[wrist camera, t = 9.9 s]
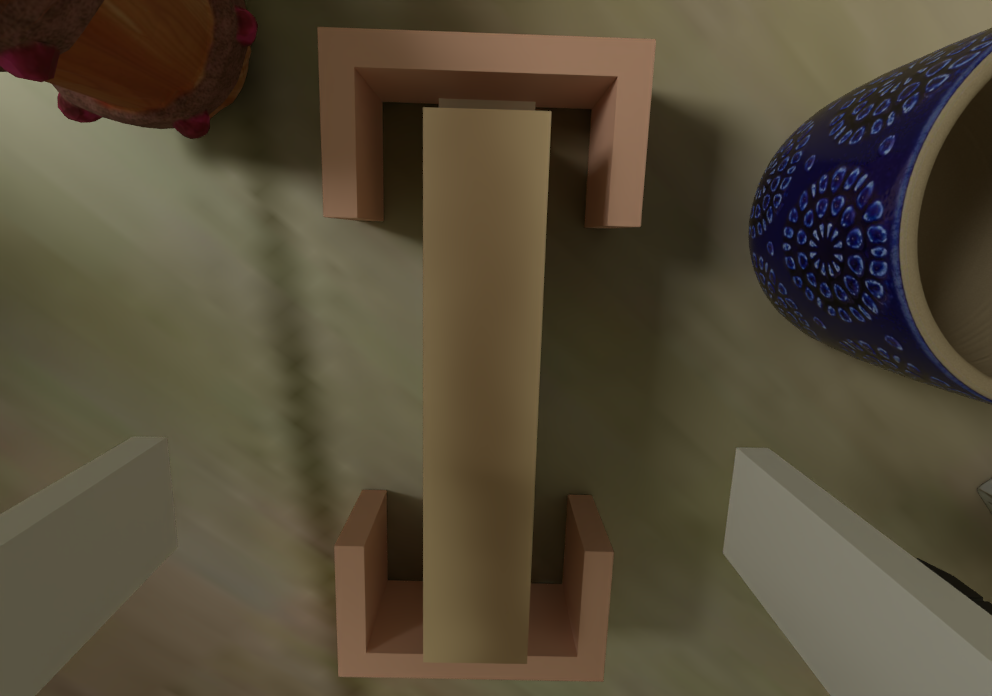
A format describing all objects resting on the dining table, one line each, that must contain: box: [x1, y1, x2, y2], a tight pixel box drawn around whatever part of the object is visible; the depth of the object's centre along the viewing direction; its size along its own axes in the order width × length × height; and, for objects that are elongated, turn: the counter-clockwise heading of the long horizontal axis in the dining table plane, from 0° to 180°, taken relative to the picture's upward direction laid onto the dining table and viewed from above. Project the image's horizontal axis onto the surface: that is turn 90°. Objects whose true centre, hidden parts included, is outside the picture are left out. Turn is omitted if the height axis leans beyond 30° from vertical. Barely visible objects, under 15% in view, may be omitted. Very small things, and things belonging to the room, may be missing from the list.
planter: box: [749, 28, 992, 404], centre depth 19 cm, size 11×11×11 cm
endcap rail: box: [317, 27, 656, 682], centre depth 23 cm, size 11×25×5 cm, turn 178°
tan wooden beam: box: [423, 107, 551, 664], centre depth 22 cm, size 4×20×6 cm, turn 179°
